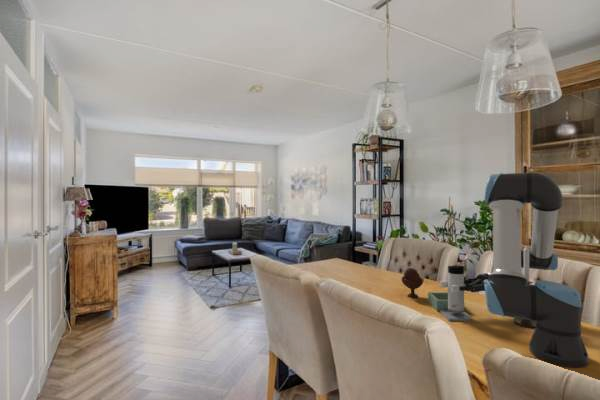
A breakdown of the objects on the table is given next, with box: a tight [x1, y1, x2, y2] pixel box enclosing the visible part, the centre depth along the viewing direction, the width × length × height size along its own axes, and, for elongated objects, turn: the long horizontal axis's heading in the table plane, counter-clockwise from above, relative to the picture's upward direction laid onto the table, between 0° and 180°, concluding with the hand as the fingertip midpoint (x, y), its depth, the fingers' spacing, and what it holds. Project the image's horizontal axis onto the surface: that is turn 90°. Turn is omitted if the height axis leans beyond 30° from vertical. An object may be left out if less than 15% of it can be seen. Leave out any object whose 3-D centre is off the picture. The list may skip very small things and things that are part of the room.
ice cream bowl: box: [401, 267, 425, 299], centre depth 168 cm, size 11×11×15 cm
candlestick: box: [512, 237, 536, 329], centre depth 131 cm, size 11×11×35 cm
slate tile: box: [439, 310, 474, 322], centre depth 140 cm, size 10×10×1 cm
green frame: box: [427, 291, 448, 312], centre depth 152 cm, size 12×12×5 cm
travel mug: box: [447, 265, 465, 313], centre depth 140 cm, size 6×7×20 cm
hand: (446, 286), depth 139 cm, fingers closed on travel mug, 6 cm apart
